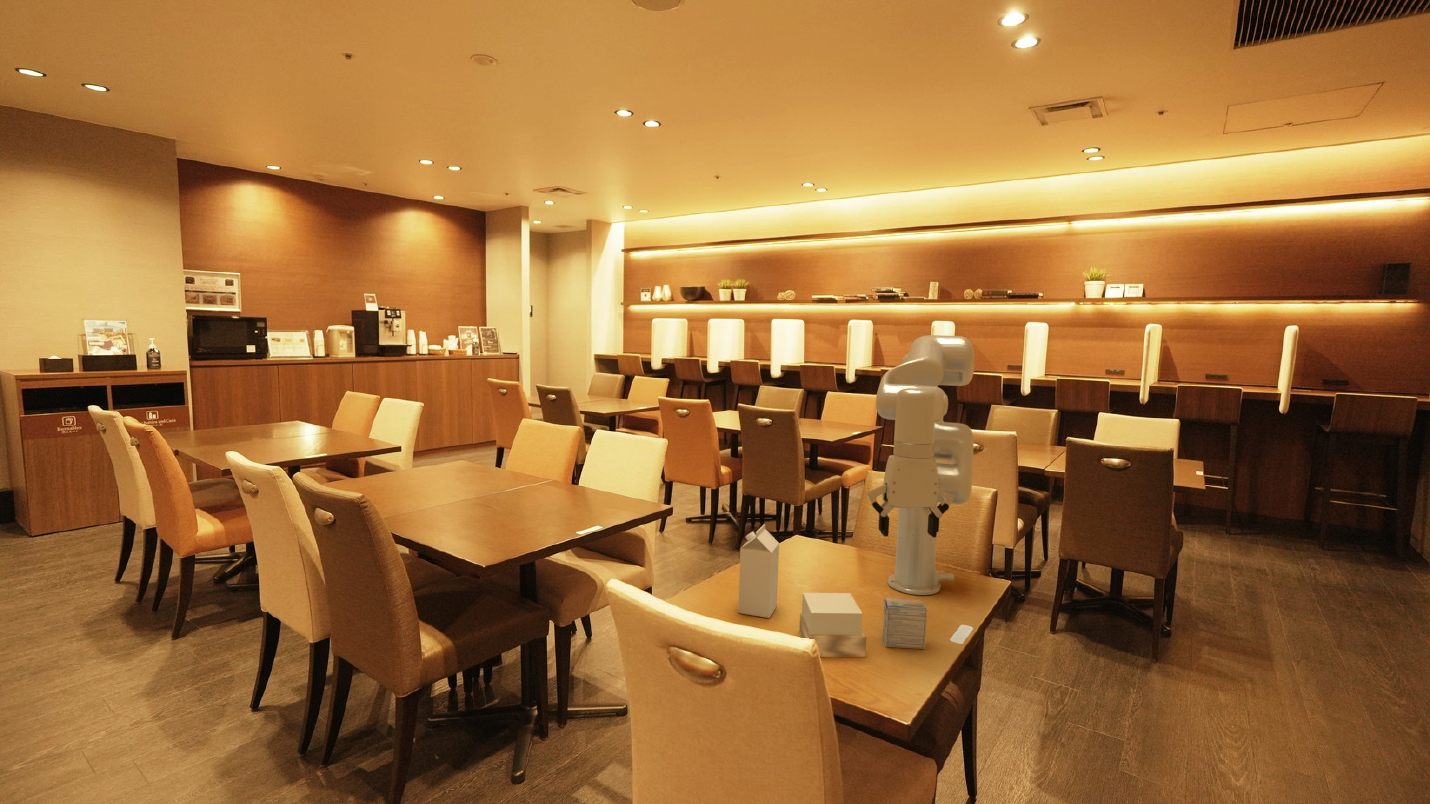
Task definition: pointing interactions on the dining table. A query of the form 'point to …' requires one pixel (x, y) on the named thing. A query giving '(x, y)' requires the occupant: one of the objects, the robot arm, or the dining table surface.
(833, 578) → the dining table surface
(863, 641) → the tower base
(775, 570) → the milk carton
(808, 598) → the tower top
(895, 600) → the medicine box
